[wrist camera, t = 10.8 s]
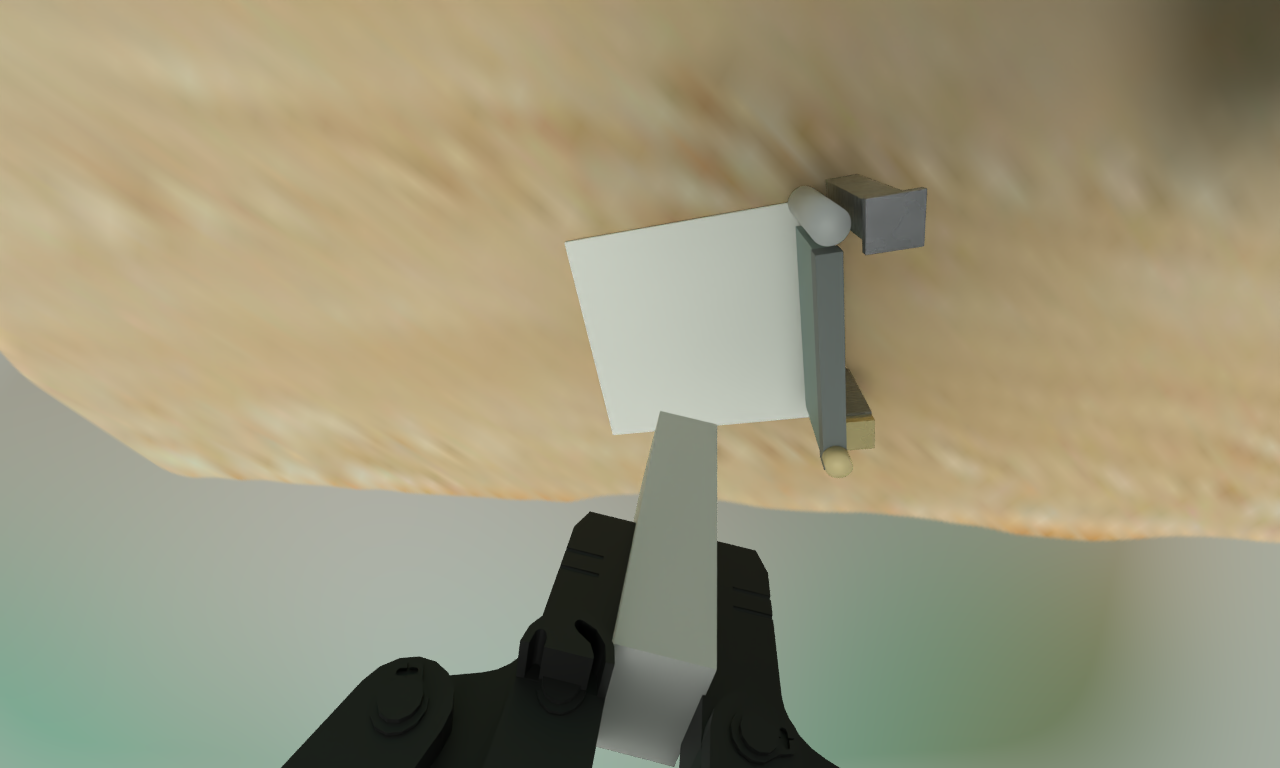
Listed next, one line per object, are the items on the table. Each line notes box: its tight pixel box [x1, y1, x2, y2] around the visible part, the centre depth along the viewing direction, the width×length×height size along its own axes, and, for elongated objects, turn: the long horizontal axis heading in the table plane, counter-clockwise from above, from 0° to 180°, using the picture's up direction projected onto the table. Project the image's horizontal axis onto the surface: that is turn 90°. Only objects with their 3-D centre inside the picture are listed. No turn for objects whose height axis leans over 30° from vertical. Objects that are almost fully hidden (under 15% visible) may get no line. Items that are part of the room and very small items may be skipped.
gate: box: [788, 186, 853, 478], centre depth 32 cm, size 16×2×10 cm, turn 11°
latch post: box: [845, 369, 875, 450], centre depth 37 cm, size 2×3×7 cm
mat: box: [565, 202, 809, 435], centre depth 40 cm, size 17×17×1 cm
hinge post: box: [826, 174, 927, 255], centre depth 29 cm, size 3×3×12 cm
